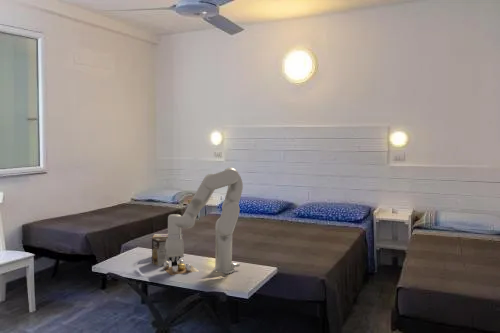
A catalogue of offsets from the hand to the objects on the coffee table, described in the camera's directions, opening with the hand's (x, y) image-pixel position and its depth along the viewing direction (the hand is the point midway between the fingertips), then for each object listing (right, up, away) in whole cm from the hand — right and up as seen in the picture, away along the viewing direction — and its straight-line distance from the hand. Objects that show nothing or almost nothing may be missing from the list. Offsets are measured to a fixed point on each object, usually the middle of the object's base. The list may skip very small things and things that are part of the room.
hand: (174, 268), depth 242 cm
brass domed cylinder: (+4, -1, +2) cm, 4 cm away
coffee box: (-11, -2, +13) cm, 17 cm away
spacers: (+1, -1, +1) cm, 2 cm away
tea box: (-12, -1, +31) cm, 33 cm away
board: (+3, -2, +2) cm, 4 cm away
